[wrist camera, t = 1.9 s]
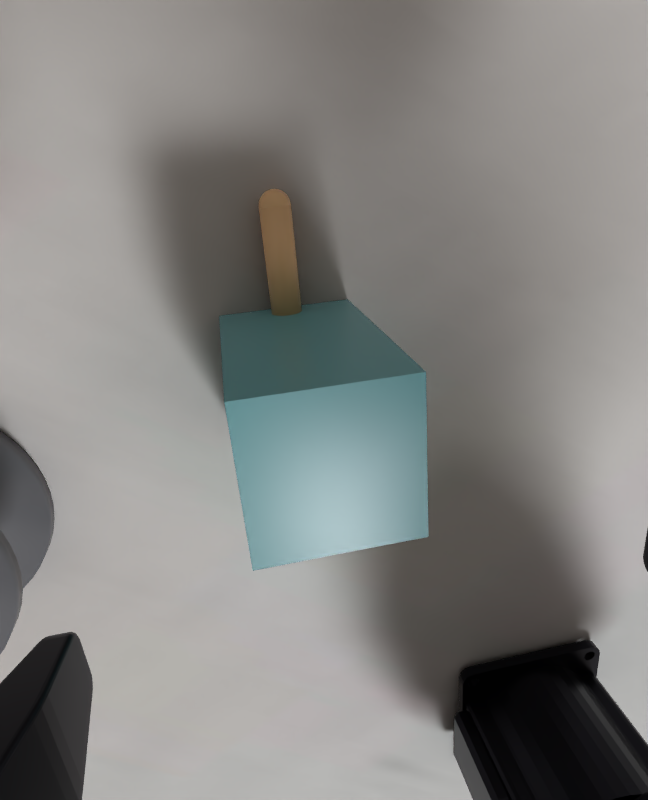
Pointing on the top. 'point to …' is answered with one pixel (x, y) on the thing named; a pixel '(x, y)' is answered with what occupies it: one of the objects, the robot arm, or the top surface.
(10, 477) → the spool
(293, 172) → the top surface
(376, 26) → the top surface
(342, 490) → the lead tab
